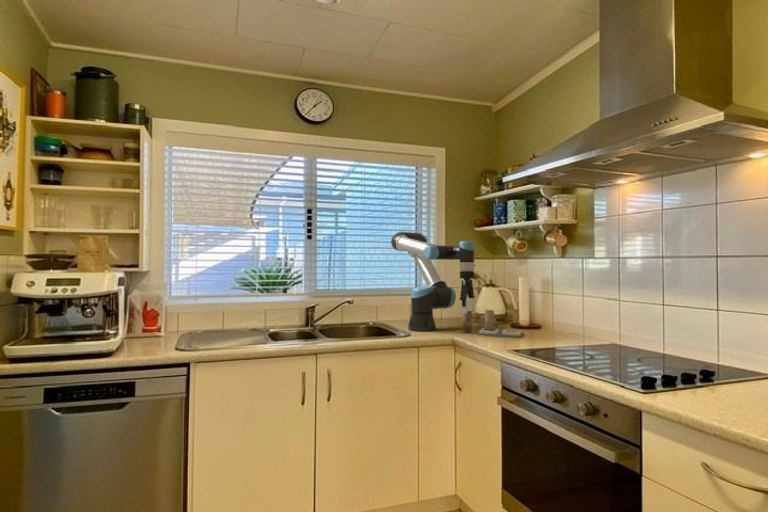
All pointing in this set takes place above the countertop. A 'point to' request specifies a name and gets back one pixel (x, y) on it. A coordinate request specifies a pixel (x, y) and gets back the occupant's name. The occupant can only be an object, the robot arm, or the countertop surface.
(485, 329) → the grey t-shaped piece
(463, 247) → the robot arm
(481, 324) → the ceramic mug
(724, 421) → the countertop surface
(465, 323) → the wooden pin
